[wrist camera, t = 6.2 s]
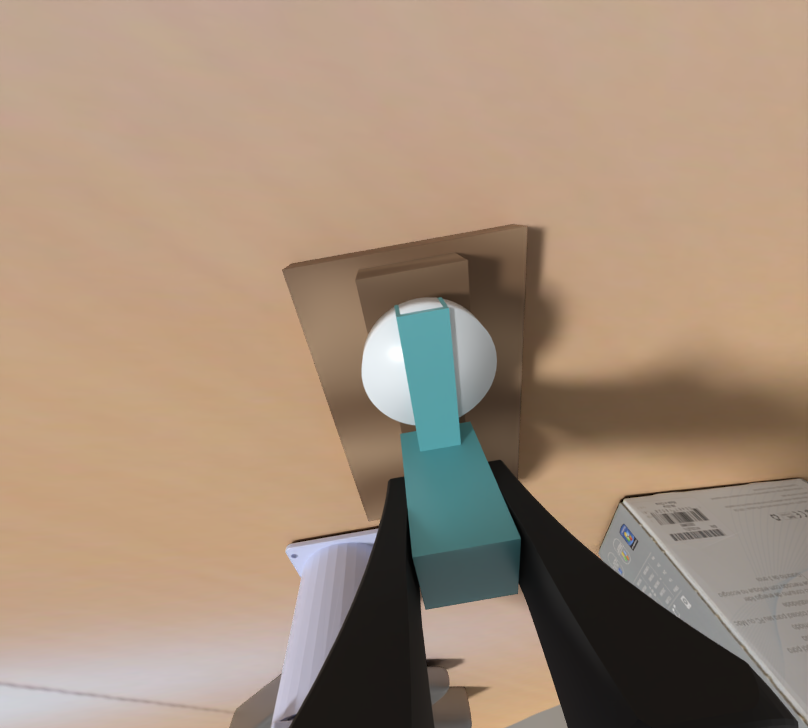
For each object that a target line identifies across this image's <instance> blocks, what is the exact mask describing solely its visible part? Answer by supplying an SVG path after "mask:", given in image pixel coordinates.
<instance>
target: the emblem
mask: <svg viewBox="0 0 808 728" xmlns="http://www.w3.org/2000/svg"><path fill="white" fill-rule="evenodd" d="M427 671H428V679H429V687H430V695H431V703H432V711H433V719H434V727H435V728H471V726H472V722H471V713H470V707H469V702H468V697H467V693H466V689H465V687H449V675H448V672H447V670H446V669H445V668H443V667H427ZM281 675H282V674H281ZM281 675H280V676H278V677H277V678H276V679H274V680H273V681H272V682H270V683H269V684H267V685H266V686H265V687H264V688H262V689H261V690H260V691H258V692H257V693H256V694H255V695H253V696H252V697H251V698H249V699H248V700H247V701H246V702H244V703H243V704H242V705H241V706H239V707H238V708H237V709H236V711H235V713H234V715H233V718H232V721H231V724H230V727H229V728H271V724H272V719H273V714H274V709H275V704H276V699H277V694H278V690H279V685H280V680H281Z"/></svg>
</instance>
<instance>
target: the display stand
mask: <svg viewBox="0 0 808 728" xmlns="http://www.w3.org/2000/svg"><path fill="white" fill-rule="evenodd" d="M527 227H528V226H522V225H514V224H511V225H506V226H500V227H495V228H489V229H483V230H478V231H472V232H467V233H461V234H455V235H450V236H444V237H438V238H433V239H427V240H422V241H416V242H410V243H405V244H399V245H394V246H388V247H382V248H377V249H371V250H366V251H360V252H354V253H349V254H343V255H338V256H332V257H326V258H321V259H315V260H310V261H304V262H298V263H293V264H290V265H289V266H287V267H286V268H284V269H283V270H282V271H283V274H284V277H285V280H286V283H287V286H288V288H289V291H290V294H291V297H292V300H293V303H294V306H295V309H296V312H297V315H298V318H299V320H300V323H301V326H302V329H303V332H304V335H305V338H306V341H307V344H308V347H309V350H310V352H311V355H312V358H313V361H314V364H315V367H316V370H317V373H318V376H319V379H320V382H321V384H322V387H323V390H324V393H325V396H326V399H327V402H328V405H329V408H330V411H331V414H332V416H333V419H334V422H335V425H336V428H337V431H338V434H339V437H340V440H341V443H342V446H343V448H344V451H345V454H346V457H347V460H348V463H349V466H350V469H351V472H352V475H353V478H354V480H355V483H356V486H357V489H358V492H359V495H360V498H361V501H362V504H363V507H364V510H365V512H366V515H367V518H368V521H373V520H379V519H381V517H382V513H383V508H384V504H385V499H386V493H387V486H388V481H389V480H390V479H392V478H398V477H403V476H404V468H403V458H402V448H401V438H400V434H402V433H408V432H413V431H416V426H415V425H410V424H405V423H402V422H399V421H396V420H394V419H392V418H390V417H388V416H387V415H385V414H384V413H382V412H381V411H380V410H379V409H378V408H377V407H376V406H375V405H374V404H373V403H372V401H371V400H370V399H369V397H368V395H367V393H366V391H365V388H364V385H363V381H362V359H363V350H364V345H365V341H366V339H367V336H368V334H369V332H370V330H371V329H372V327H373V326H374V324H375V323H376V322H377V321H378V319H379V318H381V317H382V316H383V315H384V314H385V313H386V312H387V311H389V310H390V309H392V308H393V307H394V305H399V304H401V303H404V302H406V301H409V300H413V299H417V298H426V297H430V298H439V297H442V299H446V300H449V301H453V302H455V303H457V304H459V305H461V306H463V307H464V308H466V309H467V310H468V311H469V312H471V313H472V314H473V315H474V316H475V318H476V319H477V320H478V321H479V322H480V323H481V324H482V325H483V327H484V328H485V329H486V330H487V331H488V333H489V335H490V336H491V338H492V341H493V343H494V345H495V350H496V356H497V367H496V373H495V377H494V380H493V382H492V385H491V387H490V389H489V390H488V392H487V393H486V395H485V396H484V398H483V399H482V400H481V401H480V402H479V403H478V404H477V405H476V406H475V407H474V408H473V409H471V410H470V411H469V412H467V413H466V414H464V415H462V416H461V417H459V423H465V422H471V424H472V427H473V429H474V431H475V434H476V436H477V438H478V440H479V443H480V445H481V447H482V450H483V452H484V454H485V457H486V459H487V461H488V462H489V461H495V460H502V461H503V462H504V463H505V465H506V466H507V467H508V468H509V470H510V471H511V472H512V473H513V474H514V476H515V477H516V478H517V479H518V461H519V435H520V409H521V383H522V357H523V331H524V305H525V279H526V253H527Z"/></svg>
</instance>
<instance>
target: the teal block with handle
mask: <svg viewBox="0 0 808 728" xmlns="http://www.w3.org/2000/svg"><path fill="white" fill-rule="evenodd" d="M496 367H497V356H496V350H495V345H494V343H493V341H492V338H491V336H490V335H489V333H488V331H487V330H486V329H485V328H484V327H483V325H482V324H481V323H480V322H479V321H478V320H477V319H476V318H475V316H474V315H473V314H472V313H471V312H469V311H468V310H467V309H466V308H464V307H463V306H461V305H459V304H457V303H455V302H453V301H449V300H446V299H442V297H439V298H430V297H426V298H417V299H413V300H409V301H406V302H404V303H401V304H399V305H394V307H393V308H392V309H390V310H389V311H387V312H386V313H385V314H384V315H383V316H382V317H381V318H379V319H378V321H377V322H376V323H375V324H374V326H373V327H372V329H371V330H370V332H369V334H368V336H367V339H366V341H365V345H364V350H363V359H362V381H363V385H364V388H365V391H366V393H367V395H368V397H369V399H370V400H371V401H372V403H373V404H374V405H375V406H376V407H377V408H378V409H379V410H380V411H381V412H382V413H384V414H385V415H387V416H388V417H390V418H392V419H394V420H396V421H399V422H402V423H405V424H410V425H415V426H416V431H413V432H408V433H402V434H400V438H401V448H402V458H403V468H404V478H405V488H406V498H407V508H408V518H409V528H410V538H411V548H412V558H413V562H414V566H415V570H416V574H417V577H418V581H419V585H420V589H421V593H422V597H423V601H424V605H425V609H426V610H427V609H432V608H438V607H444V606H450V605H456V604H461V603H467V602H473V601H479V600H484V599H490V598H496V597H502V596H508V595H513V594H518V584H519V565H520V546H521V538H520V535H519V533H518V531H517V528H516V526H515V524H514V521H513V519H512V517H511V514H510V512H509V510H508V508H507V505H506V503H505V501H504V498H503V496H502V494H501V491H500V489H499V487H498V484H497V482H496V480H495V477H494V475H493V473H492V471H491V468H490V466H489V464H488V461H487V459H486V457H485V454H484V452H483V450H482V447H481V445H480V443H479V440H478V438H477V436H476V434H475V431H474V429H473V427H472V424H471V422H465V423H459V417H461V416H462V415H464V414H466V413H467V412H469V411H470V410H471V409H473V408H474V407H475V406H476V405H477V404H478V403H479V402H480V401H481V400H482V399H483V398H484V396H485V395H486V393H487V392H488V390H489V389H490V387H491V385H492V382H493V380H494V377H495V373H496Z"/></svg>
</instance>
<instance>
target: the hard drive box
mask: <svg viewBox="0 0 808 728" xmlns="http://www.w3.org/2000/svg"><path fill="white" fill-rule="evenodd" d="M598 554H599V555H600V557H601V559H602V560H603V562H605V563H606V564H607V565H608V566H610V567H611V568H612V569H613V570H614V571H616V572H617V573H618V574H620V575H621V576H622V577H623V578H625V579H626V580H628V581H629V582H630V583H632V584H633V585H634V586H636V587H637V588H638V589H640V590H641V591H642V592H644V593H645V594H646V595H648V596H649V597H650V598H652V599H653V600H654V601H656V602H657V603H658V604H660V605H661V606H663V607H664V608H666V609H667V610H668V611H670V612H671V613H673V614H674V615H676V616H677V617H679V618H680V619H681V620H683V621H684V622H686V623H687V624H689V625H690V626H692V627H693V628H695V629H696V630H698V631H699V632H701V633H702V634H704V635H705V636H707V637H708V638H710V639H711V640H713V641H714V642H716V643H717V644H719V645H721V646H722V647H724V648H725V649H727V650H728V651H730V652H731V653H733V654H735V655H736V656H738V657H739V658H741V659H742V660H744V661H745V662H747V663H748V664H749V665H750V667H751V668H752V669H753V670H754V671H755V672H756V673H757V674H758V675H759V676H760V677H761V678H762V679H763V680H764V682H765V683H766V684H767V685H768V686H769V687H770V688H771V689H772V691H773V692H774V693H775V694H776V695H777V696H778V698H779V699H780V700H781V701H782V703H783V704H784V705H785V706H786V707H787V709H788V710H789V711H790V712H791V714H792V715H793V716H794V717H795V718H796V720H797V721H798V726H799V728H808V482H807V481H806V480H804V479H801V478H797V479H790V480H781V481H767V482H756V483H749V484H746V485H738V486H729V487H721V488H711V489H703V490H694V491H685V492H669V493H660V494H655V495H651V496H642V497H634V498H625V499H624V500H623V502H622V503H619V506H618V508H617V510H616V513H615V515H614V518H613V520H612V523H611V525H610V527H609V529H608V532H607V534H606V536H605V538H604V541H603V543H602V545H601V548H600V550H599V553H598Z"/></svg>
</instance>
